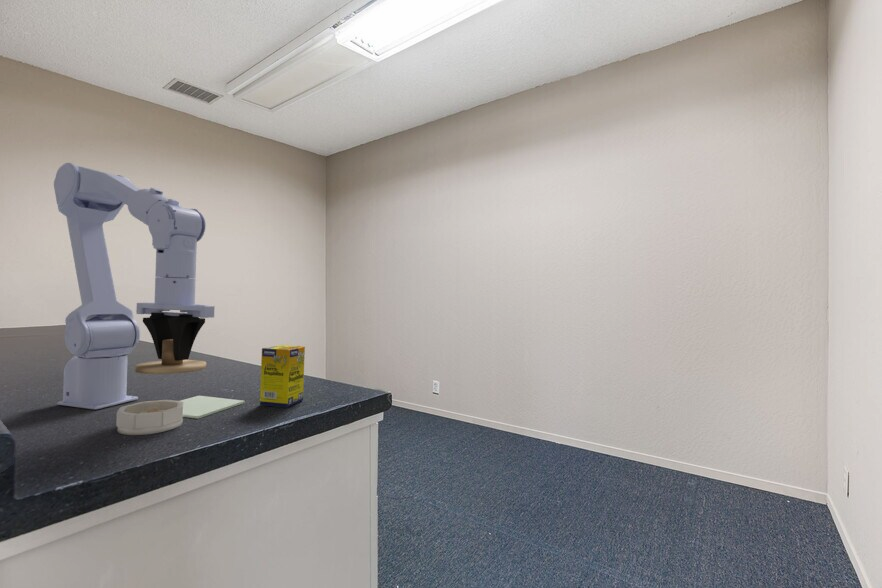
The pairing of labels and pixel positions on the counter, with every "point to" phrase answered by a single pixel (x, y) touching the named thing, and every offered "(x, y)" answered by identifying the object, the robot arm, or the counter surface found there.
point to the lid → (169, 363)
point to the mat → (206, 406)
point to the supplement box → (282, 375)
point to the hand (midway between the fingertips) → (173, 359)
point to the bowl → (149, 417)
